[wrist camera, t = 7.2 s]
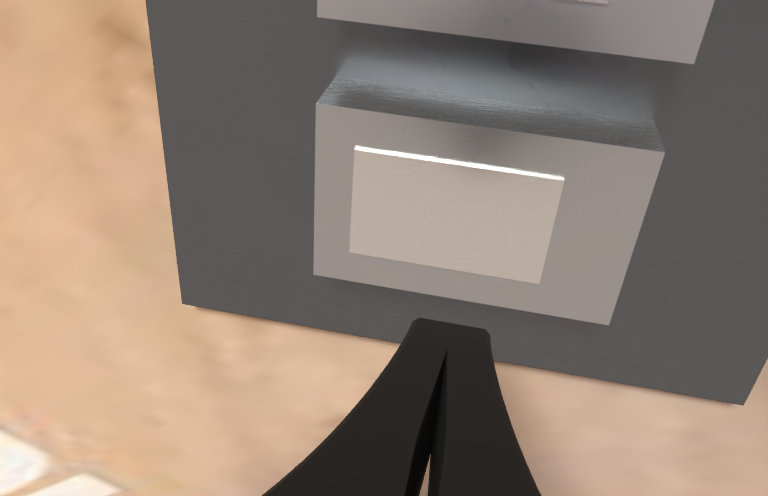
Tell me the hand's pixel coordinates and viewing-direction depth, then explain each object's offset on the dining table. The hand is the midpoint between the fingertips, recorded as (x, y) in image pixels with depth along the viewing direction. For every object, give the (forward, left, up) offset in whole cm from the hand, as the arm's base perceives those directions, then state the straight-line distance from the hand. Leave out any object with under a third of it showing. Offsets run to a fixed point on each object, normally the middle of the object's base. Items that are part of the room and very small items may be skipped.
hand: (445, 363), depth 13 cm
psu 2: (0, 0, -8) cm, 8 cm away
